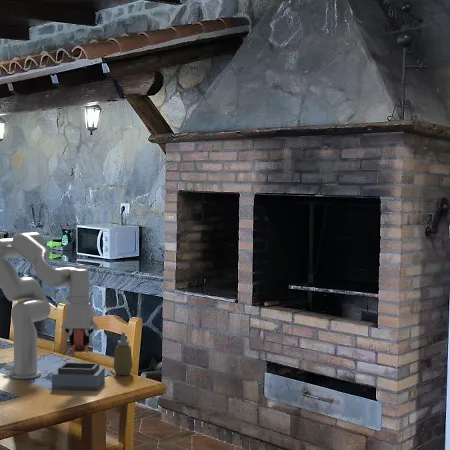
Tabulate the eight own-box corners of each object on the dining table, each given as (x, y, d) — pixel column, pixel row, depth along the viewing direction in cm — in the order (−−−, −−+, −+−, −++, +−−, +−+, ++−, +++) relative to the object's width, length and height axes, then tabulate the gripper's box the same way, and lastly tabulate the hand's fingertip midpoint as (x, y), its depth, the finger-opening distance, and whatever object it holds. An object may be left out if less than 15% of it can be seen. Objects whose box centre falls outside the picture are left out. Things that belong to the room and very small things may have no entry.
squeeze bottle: (128, 377, 297) (129, 335, 296) (110, 376, 299) (110, 333, 298) (135, 372, 305) (135, 331, 304) (117, 371, 307) (117, 330, 306)
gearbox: (51, 389, 278) (51, 369, 278) (61, 380, 291) (61, 361, 291) (97, 390, 277) (97, 370, 277) (104, 381, 290) (104, 362, 290)
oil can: (71, 351, 281) (71, 318, 280) (74, 348, 286) (74, 316, 285) (83, 351, 280) (84, 318, 280) (87, 349, 285) (87, 316, 285)
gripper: (55, 300, 279) (55, 346, 280) (98, 301, 278) (98, 347, 279) (61, 298, 286) (61, 342, 287) (102, 298, 285) (102, 343, 286)
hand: (79, 344), depth 283 cm, fingers closed on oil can, 5 cm apart
